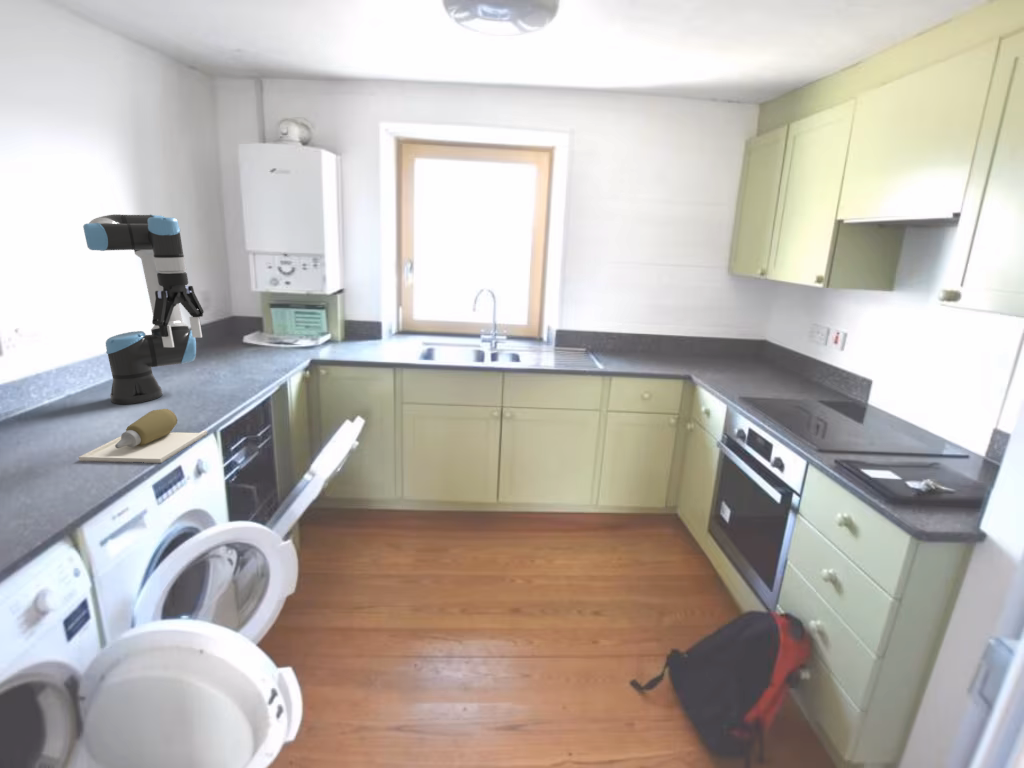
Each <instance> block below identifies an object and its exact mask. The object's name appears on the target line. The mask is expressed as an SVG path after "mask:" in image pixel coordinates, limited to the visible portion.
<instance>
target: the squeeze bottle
mask: <svg viewBox="0 0 1024 768" xmlns="http://www.w3.org/2000/svg"><path fill="white" fill-rule="evenodd" d="M177 424H178V417H177V415H176V414H175V412H173V411H172V410H170V409H168V408H161V409H153V410H151V411H149V412H147V413H145V414H144V415H142V416H141V417H139V418H138V419H137V420H135V421H134V422H133V423H131V424H128V426H127V427H126V429H125V431H124V432H123V433H121V435H120V436H121V440H120V441H119V442H118V443H117V444H116V445H115V447H116V448H121V447H124V446H128V447H135V446H137V445H138V446H143V445H145V444H147V443H150V442H152V441H154V440H156V439H158V438H161V437H163V436H165V435H167V434H169V433H170V432H172V431H173V430H174V428H175V427H176V425H177Z"/></svg>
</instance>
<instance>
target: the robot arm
mask: <svg viewBox="0 0 1024 768" xmlns="http://www.w3.org/2000/svg"><path fill="white" fill-rule="evenodd" d="M82 227H83V232H84V236H85V242H86V246H87V248H88V249H89V250H90V251H101V252H104V251H131V250H133V251H134V255H135V256H137V257H139V258H140V259H141V264H142V269H143V274H144V278H145V284H146V288H147V292H148V296H149V297H148V298H149V302H150V307H151V312H152V321H151V322H152V323H151V324H152V325H153V327H152V328H151V329H150V331H151V334H146V333H145V332H144V331H142V330H137V331H130V332H129V331H128V332H124V333H120V334H116V335H114V336H113V335H112V336H110V337H108V338H107V340H106V341H105V348H106V352H105V353H106V354H107V357H108V362H109V367H110V372H111V376H112V383H111V392H110V400H111V403H112V404H118V405H129V404H130V405H133V404H139V403H144V402H148V401H149V402H150V401H153V400H156V399H159V398H161V397H162V396H163V389H162V387H161V386H160V385H159V383H158V380H157V379H156V377H155V376H154V375H153V369H152V368H156V367H165V366H166V367H167V366H172V365H173V366H174V365H182V364H186V363H192V362H194V361H195V360H196V356H197V341H196V338H199V339H200V338H201V339H202V338H203V333H202V327H201V326H202V325H201V319H200V318H201V317H203V316H204V313H205V311H204V309H203V307H202V305H201V303H200V301H199V300H198V297H197V296H196V293H195V290H194V286H193V285H188V284H189V278H188V273H187V272H185V271H186V270H187V265H186V260H185V255H184V251H183V245H182V238H181V237H182V236H181V228H180V225H179V221H178V219H177V218H175V217H165V216H163V215H158V214H157V215H156V214H154V215H153V214H107V215H102V216H98V217H96V218H93V219H91V220H90V222H88V223H84V224H83V226H82ZM180 305H182V306H183V308H184V309H185V311H187V313H188V314H189V315H190V316H189V318H188V319H189V323H190V328H189V325H188V324H186V323H185V322H183V316H182V313H181V308H180Z"/></svg>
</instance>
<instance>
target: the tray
mask: <svg viewBox="0 0 1024 768" xmlns="http://www.w3.org/2000/svg"><path fill="white" fill-rule="evenodd" d="M207 435H208V431H207V430H202V431H200V432H177V431H176V432H172V431H171V432H170V433H169V434H167V435H165V436H163V437H161V438H158V439H156V440H154V441H152V442H150V443H147V444H145V445H143V446H138V445H137V446H135V447H128V446H124V447H121V448H116V447H115V445H116V444H117V443H118V442H119V441H120V440H121V435H120V436H118V437H117V438H114V439H112V440H109V441H108V442H106V443H103V444H102V445H100V446H98V447H96V448H94V449H92V450H90V451H88V452H85V453H84V454H81V455H80V456H78V459H79V462H96V463H97V462H98V463H100V462H101V463H133V462H142V464H143V462H144V463H145V464H162V463H164V462H166V461H167V460H169V459H171V458H172V457H173V456H175V455H177V454H178V453H181V452H182V451H183V450H185V449H187V448H188V447H189V446H191V445H193V444H195V443H197V442H198V441H199V440H201V439H203V438H205V437H206V436H207Z"/></svg>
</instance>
